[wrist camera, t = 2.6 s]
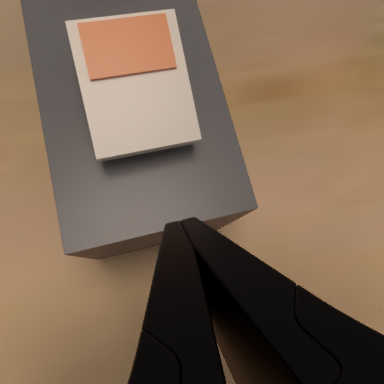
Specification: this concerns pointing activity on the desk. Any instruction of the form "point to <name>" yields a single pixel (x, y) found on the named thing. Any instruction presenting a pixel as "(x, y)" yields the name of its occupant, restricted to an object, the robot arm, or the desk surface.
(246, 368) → the robot arm
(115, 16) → the rocker
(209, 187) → the switch block
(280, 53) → the desk surface
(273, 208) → the desk surface
